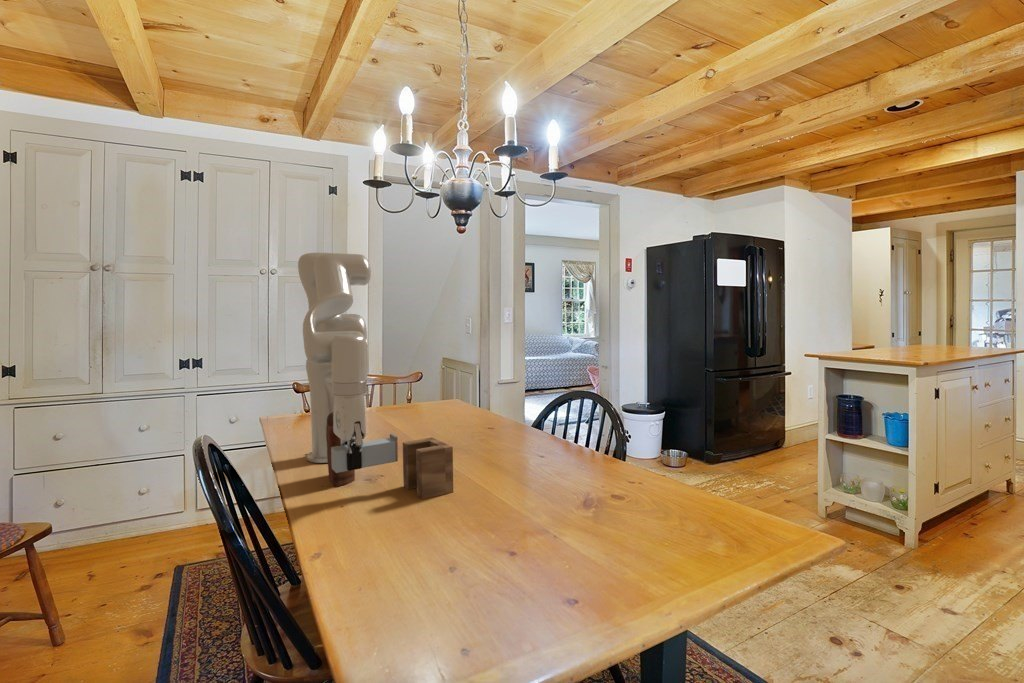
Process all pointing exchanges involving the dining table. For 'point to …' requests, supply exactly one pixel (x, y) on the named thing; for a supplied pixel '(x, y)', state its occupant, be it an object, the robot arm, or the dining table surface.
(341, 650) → the dining table surface
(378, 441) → the rail
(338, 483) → the wooden figurine
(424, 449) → the brown wooden u-shaped block
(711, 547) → the dining table surface
